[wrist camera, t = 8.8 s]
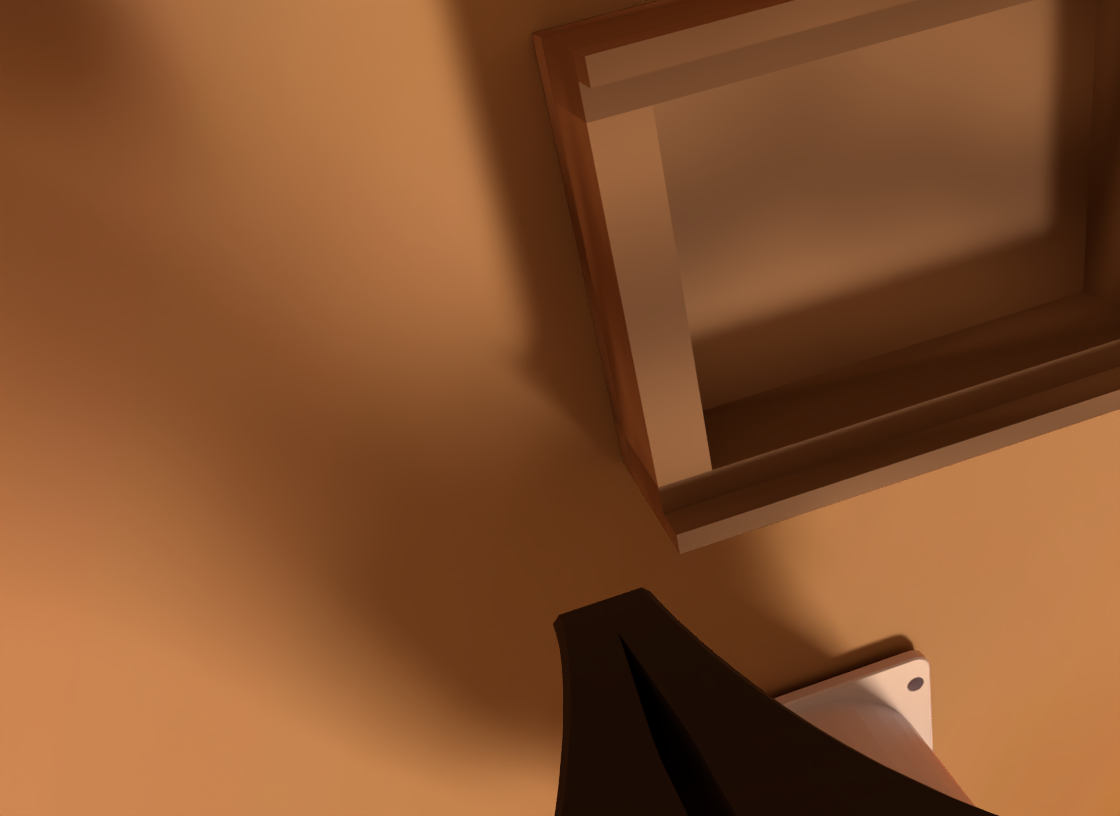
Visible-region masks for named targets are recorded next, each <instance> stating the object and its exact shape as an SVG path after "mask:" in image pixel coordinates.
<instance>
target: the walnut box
mask: <svg viewBox="0 0 1120 816" xmlns="http://www.w3.org/2000/svg"><path fill="white" fill-rule="evenodd" d="M532 37H533V41H534V46H535V51H536V55H537V60H538V65H539V69H540V74H541V79H542V83H543V88H544V93H545V97H546V102H547V107H548V111H549V116H550V121H551V125H552V130H553V135H554V139H555V144H556V149H557V153H558V158H559V163H560V167H561V172H562V177H563V181H564V186H565V191H566V195H567V200H568V205H569V209H570V214H571V219H572V224H573V228H574V233H575V238H576V242H577V247H578V252H579V256H580V261H581V266H582V270H583V275H584V280H585V284H586V289H587V294H588V298H589V303H590V308H591V312H592V317H593V322H594V326H595V331H596V336H597V340H598V345H599V350H600V354H601V359H602V364H603V368H604V373H605V378H606V382H607V387H608V392H609V396H610V401H611V406H612V410H613V415H614V420H615V424H616V429H617V434H618V438H619V443H620V448H621V452H622V457H623V462H624V464H625V465H626V467H627V469H628V470H629V472H630V474H631V475H632V477H633V479H634V480H635V482H636V483H637V485H638V487H639V488H640V490H641V492H642V493H643V495H644V496H645V498H646V500H647V501H648V503H649V505H650V506H651V508H652V509H653V511H654V513H655V514H656V516H657V518H658V519H659V521H660V522H661V524H662V526H663V527H664V529H665V531H666V532H667V534H668V535H669V537H670V539H671V540H672V542H673V544H674V545H675V547H676V548H677V550H678V552H679V553H680V554H683V553H686V552H689V551H692V550H695V549H698V548H701V547H704V546H707V545H710V544H713V543H716V542H719V541H722V540H725V539H728V538H731V537H734V536H737V535H740V534H743V533H746V532H749V531H752V530H756V529H759V528H762V527H765V526H768V525H771V524H774V523H777V522H780V521H783V520H786V519H789V518H792V517H795V516H798V515H801V514H804V513H807V512H810V511H813V510H816V509H819V508H822V507H825V506H828V505H831V504H834V503H837V502H840V501H843V500H846V499H849V498H852V497H855V496H858V495H861V494H864V493H867V492H870V491H873V490H876V489H879V488H883V487H886V486H889V485H892V484H895V483H898V482H901V481H904V480H907V479H910V478H913V477H916V476H919V475H922V474H925V473H928V472H931V471H934V470H937V469H940V468H943V467H946V466H949V465H952V464H955V463H958V462H961V461H964V460H967V459H970V458H973V457H976V456H979V455H982V454H985V453H988V452H991V451H994V450H997V449H1000V448H1003V447H1006V446H1010V445H1013V444H1016V443H1019V442H1022V441H1025V440H1028V439H1031V438H1034V437H1037V436H1040V435H1043V434H1046V433H1049V432H1052V431H1055V430H1058V429H1061V428H1064V427H1067V426H1070V425H1073V424H1076V423H1079V422H1082V421H1085V420H1088V419H1091V418H1094V417H1097V416H1100V415H1103V414H1106V413H1109V412H1112V411H1115V410H1118V409H1120V0H658V1H654V2H650V3H647V4H643V5H639V6H635V7H631V8H628V9H624V10H620V11H616V12H612V13H608V14H605V15H601V16H597V17H593V18H589V19H586V20H582V21H578V22H574V23H570V24H566V25H563V26H559V27H555V28H551V29H547V30H544V31H540V32H536V33H532Z"/></svg>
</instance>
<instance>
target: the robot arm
mask: <svg viewBox="0 0 1120 816" xmlns="http://www.w3.org/2000/svg"><path fill="white" fill-rule="evenodd" d="M553 625H554V629H555V632H556V636H557V639H558V643H559V647H560V654H561V662H562V675H563V740H562V752H561V764H560V776H559V786H558V794H557V802H556V809H555V816H998V815H995V814H992V813H990V812H987V811H985V810H982V809H980V808H977V807H975V805H974V804H973V803H972V802H971V800H970V799H969V798H968V796H967V795H966V794H965V792H964V791H963V790H962V789H961V787H960V786H959V785H958V783H957V782H956V781H955V780H954V778H953V777H952V776H951V774H950V773H949V772H948V771H947V769H946V768H945V767H944V765H943V764H942V763H941V762H940V760H939V759H938V758H937V756H936V755H935V754H934V753H933V735H932V711H931V686H930V665H929V662H928V660H927V659H926V658H925V656H924V655H923V654H922V653H920V652H919V651H915V650H912V651H907V652H904V653H901V654H899V655H896V656H893V657H890V658H887V659H884V660H881V661H879V662H876V663H873V664H870V665H867V666H864V667H862V668H859V669H856V670H853V671H850V672H847V673H845V674H842V675H839V676H836V677H833V678H830V679H828V680H825V681H822V682H819V683H816V684H813V685H811V686H808V687H805V688H802V689H799V690H796V691H793V692H791V693H788V694H785V695H782V696H779V697H776V698H773V697H771V696H770V695H768V694H767V693H765V692H764V691H763V690H761V689H760V688H759V687H757V686H756V685H755V684H753V683H752V682H751V681H749V680H748V679H747V678H745V677H744V676H743V675H741V674H740V673H739V672H738V671H736V670H735V669H734V668H733V667H732V666H730V665H729V664H728V663H727V662H725V661H724V660H723V659H722V658H720V657H719V656H718V655H717V654H715V653H714V652H713V651H712V650H711V649H709V648H708V647H707V646H706V645H705V644H704V643H702V642H701V641H700V640H699V639H698V638H697V637H696V636H695V635H694V634H692V633H691V632H690V631H689V630H688V629H687V628H686V627H685V626H684V625H683V624H682V623H680V622H679V621H678V620H677V619H676V618H675V617H674V616H673V615H672V614H671V613H670V612H669V611H668V610H667V609H666V608H665V607H664V606H663V605H662V604H661V603H660V602H659V601H658V600H657V598H656V597H655V596H654V595H653V594H652V593H651V592H650V591H648V590H646V589H644V588H639V589H636V590H633V591H630V592H627V593H624V594H621V595H618V596H615V597H612V598H609V599H606V600H603V601H600V602H597V603H594V604H591V605H588V606H585V607H582V608H579V609H576V610H573V611H570V612H567V613H564V614H561V615H559V616H558V618H557V619H556V621H555V622H554V623H553ZM912 679H913V680H912Z"/></svg>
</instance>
